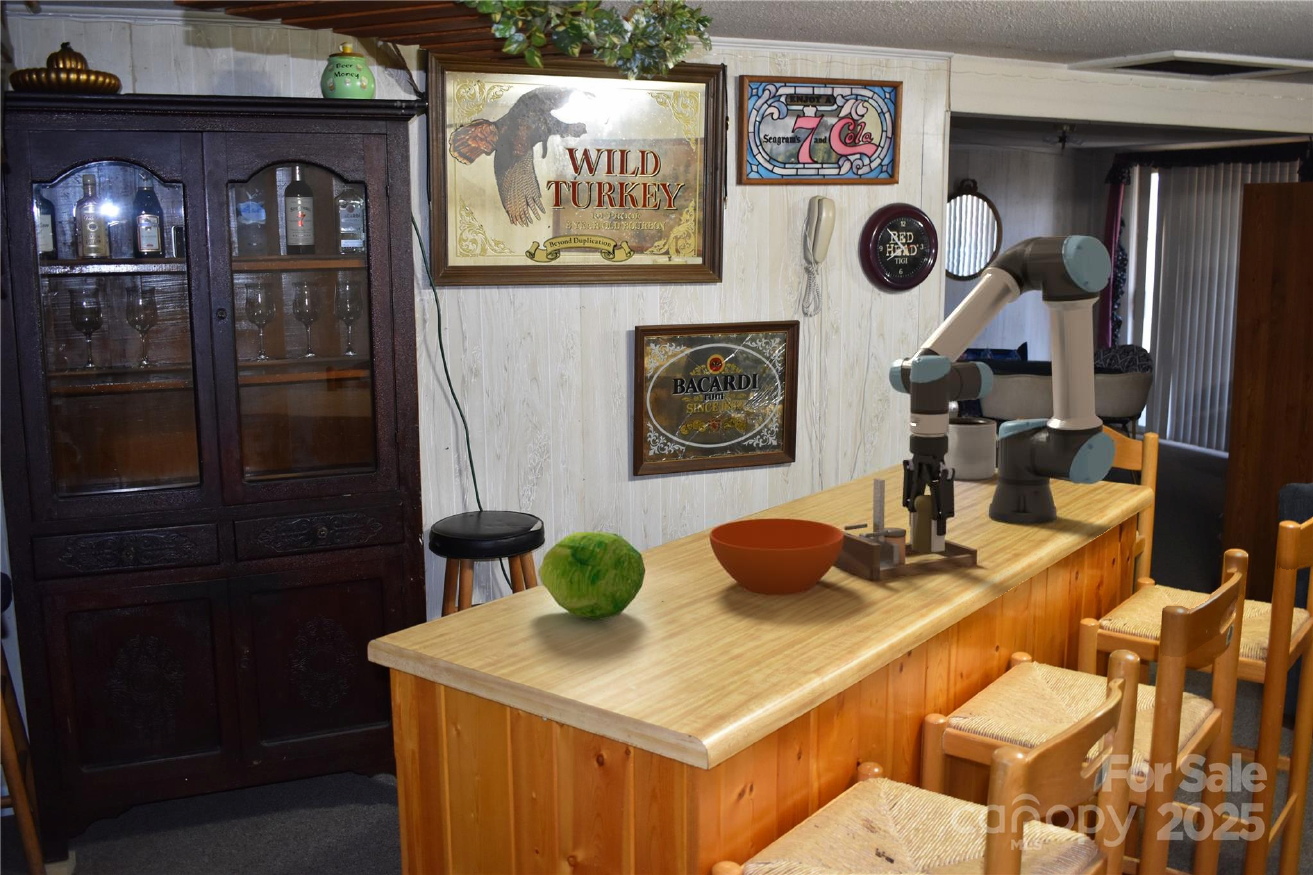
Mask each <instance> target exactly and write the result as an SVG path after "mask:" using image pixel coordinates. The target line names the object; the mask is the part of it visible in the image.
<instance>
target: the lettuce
mask: <svg viewBox="0 0 1313 875" xmlns="http://www.w3.org/2000/svg"><path fill="white" fill-rule="evenodd" d="M537 572H538V573H537V575H538V577H539V579H540V582H541V584H542V586H544V588H545V589H547V591H548V592H549V594H550V595H551V597H552V598H553V599H554V601H555V603H556V604H557V605H558V606H559V607H561V608H562V609H563V610H566V611H567V612H569V613H570V614H572V615H574V616H575V617H580V618H585V619H590V620H595V619H599V620H603V619H606V618H612V617H616V616H619V615H621V614H622V612H624V611H625V610H626V609H627V607H628V606H629V605H630V604H631V603H632V602H633V601H634V600H635V599H636V597H637V595H638V593H639V592H640V591H641V588H642V587H643V584H644V579H645V574H646V568H645V564H644V560H643V555H642V554H641V553H640V552H639V551H638V550H637V549H636V548H635V547H634V546H633V545H632V544H631V543H629V541H628V540H626V539H624V537H622V536H620V535H619V534H617V533H611V532H597V531H596V532H594V531H578V532H573V533H572V534H568V535H566V536H565V537H564V538H562V539H561V540H560V541H558V542H557V543H556V544H554V546H552V547H551V548H550V549H549V550H548V551H547V552H546V553H545V555H544V556H543V559H542V562H541V565H540V566H539V568H538V571H537Z"/></svg>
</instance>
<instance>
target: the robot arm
mask: <svg viewBox="0 0 1313 875" xmlns="http://www.w3.org/2000/svg"><path fill="white" fill-rule="evenodd" d="M1110 257H1111V256H1110V254H1109V251H1108V250H1107V248H1106V246H1105V245H1104V244H1103V243H1102V241H1100V240H1099V239H1098V238H1096V237H1093V236H1087V235H1079V234H1077V235H1076V234H1074V235H1059V236H1034V237H1030V238H1026V239H1024V240H1021V241H1019V242H1017V243H1015V244H1014V245H1012V246H1011V247H1009V248H1008V249H1006V250H1004V252H1002V253H1001V254H1000V255H999V256H997V257H996V258H995V259H994V260H993V261H991V263H990V264H988V265H987V266H986V268H985V269H984V270H983V271H982V273H981V275H980V281H979V282H978V284H976V286H975V287H973V289H972V290H971V291H970V292H969V293H968V295H967V296H965V298H964V299H963V300H962V301H961V302H960V304H958V306H956V308H954V310H953V311H951V313H950V315H948V316H947V318H946V319H945V320H944V321H943V322H942V323H941V324H940V325H939V327H937V329H936V330H935V331H934V332H933V333H932V334H931V335H930V336H929V337H928V338H927V340H925V342H924V343H923V344H922V345H921V346H920V347H919V348H918V349H917V351H916V352H915V353H913V355H912V356H911V357H909V356H908V357H907V356H905V357H900V358H898V359H895V361H894V362H892V364H891V366H890V368H889V371H888V372H889V373H888V380H889V383H890V385H891V387H892V388H893V390H894V391H896V392H898V393H901V394H905V395H910V396H909V399H910V401H909V403H910V405H909V411H910V414H909V415H910V416H909V420H910V421H909V431H910V432H911V434H910V436H909V453H911V454H912V455H913V456H912V458H910V459H909V458H908V459H903V460H902V467H903V468H902V469H903V480H902V481H903V483H902V484H903V485H902V500H901V504H902V507H903V508H907V512H908V513H909V518H908V519H909V527H910V530H909V531H910V532H909V533H910V535H909V536H910V537H909V539H910V540H909V541H910V542H909V543H910V544H911V545H912V542H913V535H914V529H915V522H916V516H917V511H916V509H915V506H914V502H915V499H916V498H917V497H918V496H920V495H925V492H926V489H927V487H929V492H930V495H931V499H932V505H933V510H934V516H935V517H934V518H932V537H931V551H932V552H938V551H944V550H945V540H946V539H945V538H946V537H945V536H946V535H947V521H948V519H952V518H954V517H955V484H954V483H955V480H954V477H955V472H956V471H955V469H954V468H948V467H947V466H945V461H944V455H945V454H947V452H948V436H947V435H946V434H945V433H947V432H948V431H949V418H950V402H958V401H968V400H971V401H975V400H977V399H981V398H985V397H987V396H988V395H989V394H990V393H991V392H992V390H993V387H994V380H995V378H994V372H993V370H992V368H991V367H990V366H989V365H988V364H987V363H984V362H982V361H973V360H972V361H969V362H959V361H957V360H958V359H960V357H961V356H962V354H963V353H964V352H965V351H966V350H967V349H968V348H969V347H970V346H971V345H972V343H973V342H975V340H976V339H978V336H980V335H981V334H982V332H983V331H984V330H985V329H986V328H987V326H988V325H990V323H991V322H992V321H993V320H994V319H995V317H996V316H998V314H1000V312H1001V311H1002V310H1003V309H1004V307H1006V305H1007V304H1011V303H1013V302H1016V301H1017V300H1018V299H1019V298H1020V297H1021V296H1022V295H1023V294H1025V293H1026V294H1027V293H1028V292H1032V291H1039V292H1040V291H1041V299H1042V302H1043V304H1045V305H1046V306H1047V307H1048V308H1049V317H1050V318H1049V319H1050V320H1049V321H1050V344H1051V346H1050V347H1051V349H1050V350H1051V373H1052V374H1051V375H1052V376H1051V378H1052V381H1051V382H1052V406H1053V411H1052V412H1053V415H1052V417H1051V418H1030V419H1017V420H1016V419H1015V420H1009V421H1008V420H1007V421H1005V422H1002V423H1001V424H1000V426H999V429H998V430H999V431H998V439H997V480H996V481H997V482H996V488H995V491H994V493H993V496H992V500H991V503H989V506H988V517H989V518H990V519H992V520H995V521H999V522H1002V523H1009V524H1018V525H1041V524H1042V525H1043V524H1049V523H1053V522H1055V521H1057V517H1058V515H1057V512H1058V510H1057V507H1056V506H1055V501H1054V496H1053V493H1052V490H1051V484H1050V482H1051V481H1050V480H1051V479H1053V480H1059V481H1064V482H1069V483H1073V484H1074V485H1075V484H1077V485H1079V484H1084V485H1093V484H1094V485H1095V484H1098V482H1100V481H1102V480H1103V479H1105V477H1106V476H1107V474H1108V473H1109V471H1110V470H1111V468H1112V466H1113V464H1114V460H1115V458H1116V457H1115V456H1116V443H1115V441H1114V439H1113V437H1112V436H1111V435H1110V434H1108V433H1107V432H1104V423H1103V420H1102V419H1101V418H1100V417H1098V416H1097V415H1096V403H1095V402H1096V401H1095V396H1096V394H1095V369H1094V368H1095V367H1094V366H1095V364H1094V360H1095V359H1094V358H1095V357H1094V327H1093V326H1094V324H1093V322H1094V321H1093V305H1094V304H1095V303H1096V302H1097V301H1098V300H1099V299H1100V291H1101V290H1103V289H1104V288H1105V287H1107V285H1108V284H1109V279H1110V278H1111V274H1112V263H1111V258H1110Z"/></svg>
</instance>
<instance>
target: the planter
mask: <svg viewBox="0 0 1313 875" xmlns="http://www.w3.org/2000/svg"><path fill="white" fill-rule="evenodd" d="M945 434H946V435H947V436H948V452H947V454H945V455H944V461H945V466H947V467H948V468H954V469H955V471H956V472H955V477H954V481H985V480H989V479H991V478H992V477H994V476H995V475H996V472H997V469H996V468H997V465H996V463H997V460H996V459H997V450H996V449H997V422H996V420H992V419H990V418H989V419H988V418H983V417H982V418H981V417H965V416H963V417H949V431H948V432H947V433H945Z"/></svg>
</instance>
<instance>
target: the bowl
mask: <svg viewBox="0 0 1313 875" xmlns="http://www.w3.org/2000/svg"><path fill="white" fill-rule="evenodd" d="M842 531H843V530H841V528H838V527H836V526H835V525H831V524H827V523H823V522H819V521H814V520H805V519H799V518H798V519H797V518H754V519H745V520H737V521H732V522H727V523H724V524H721V525H719V526H716V527H714V528H713V529H712V530H711V531H710V533H709V542H710V546H711V550H712V551H713V553H714V556H715V558H716V559H717V561H718V562H719V564H720V565H721V567H722V568H723V569H724V570H725V572H727V574H728V575H729V576H730V577H731V578H732V579H733V580H734V581H735V582H736V583H737V584H738V585H739V587H741V588H742V589H743V590H745V591H748V592H751V593H754V594H760V595H767V596H769V595H772V596H785V595H796V594H800V593H804V592H808V591H810V590H811V589H813V588H814V586H815V585H816V584H817V583H818V582H819V581H820V580H821V579H822V578H824V576H825V575H826V574H827V573H828V572H829V571H830V570H831V569H832V567H833V566H834V565H833V564H834V563H835V561H836V560H837V558H838V556H839V554H840V552H841V549H842V546H843V542H844V534H843V532H844V531H843V532H842Z"/></svg>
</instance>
